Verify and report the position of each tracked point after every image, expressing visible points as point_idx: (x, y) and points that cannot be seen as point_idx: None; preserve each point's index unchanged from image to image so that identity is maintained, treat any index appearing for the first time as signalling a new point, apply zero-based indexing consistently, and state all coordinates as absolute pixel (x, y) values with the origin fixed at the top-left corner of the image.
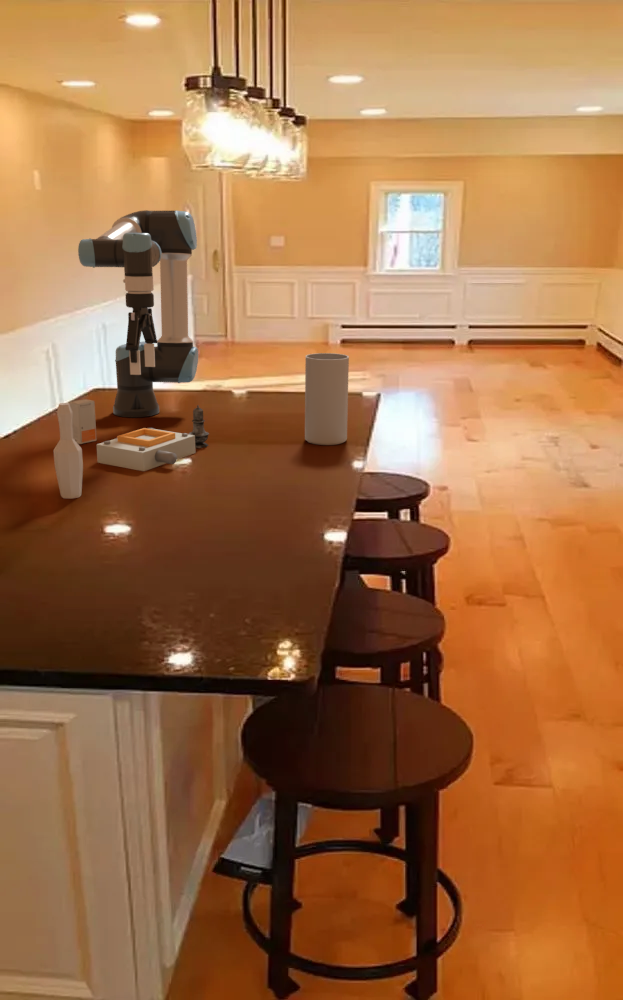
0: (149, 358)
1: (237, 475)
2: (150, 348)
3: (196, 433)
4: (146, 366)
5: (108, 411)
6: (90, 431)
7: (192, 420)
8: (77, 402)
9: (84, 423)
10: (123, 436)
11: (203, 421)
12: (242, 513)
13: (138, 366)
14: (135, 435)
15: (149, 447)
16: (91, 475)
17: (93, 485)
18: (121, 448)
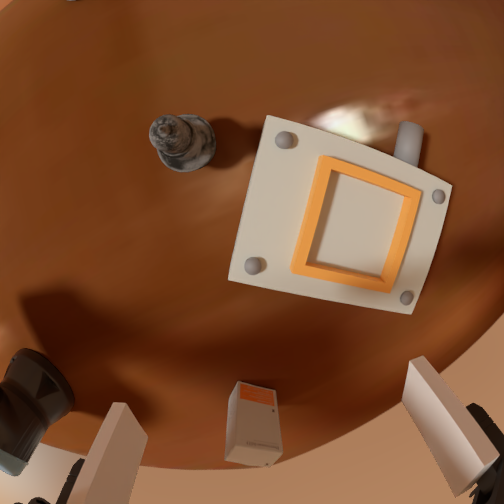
0: (123, 456)
1: (386, 14)
2: (101, 501)
3: (204, 139)
4: (144, 433)
5: (64, 416)
6: (252, 398)
7: (182, 155)
8: (270, 458)
9: (267, 415)
10: (392, 276)
11: (180, 117)
12: (491, 23)
13: (446, 389)
14: (339, 270)
15: (417, 188)
16: (456, 262)
17: (489, 232)
18: (435, 246)
